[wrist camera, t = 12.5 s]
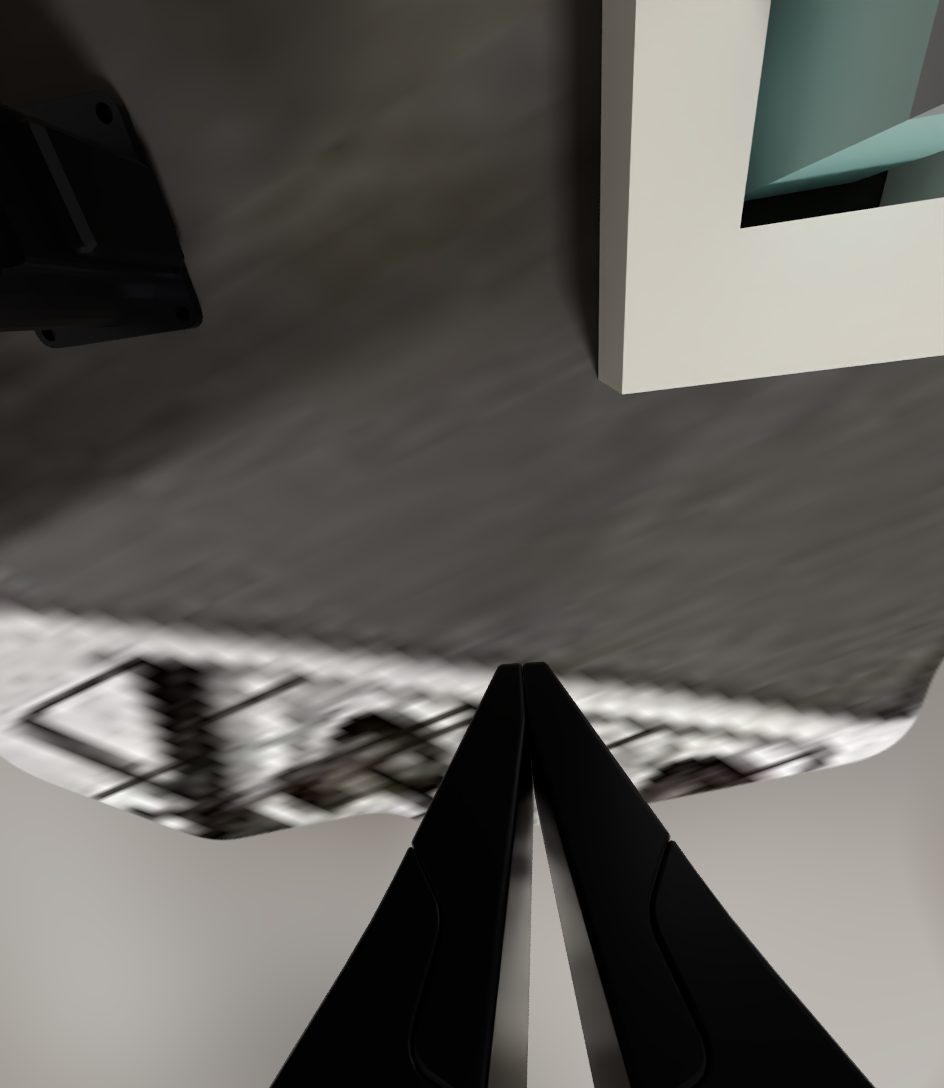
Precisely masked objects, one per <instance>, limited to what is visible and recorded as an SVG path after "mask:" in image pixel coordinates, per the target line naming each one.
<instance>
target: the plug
mask: <svg viewBox="0 0 944 1088" xmlns="http://www.w3.org/2000/svg"><path fill="white" fill-rule="evenodd" d="M943 150H944V0H771V5H770V12H769V20H768V27H767V34H766V42H765V49H764V56H763V64H762V71H761V78H760V86H759V93H758V100H757V108H756V115H755V122H754V130H753V137H752V144H751V152H750V159H749V166H748V174H747V181H746V188H745V196H744V201H747V200H753V199H759V198H765V197H771V196H776V195H782V194H788V193H794V192H800V191H806V190H812V189H818V188H823V187H829V186H835V185H841V184H847V183H853V182H856V181H859V180H861V179H864V178H867V177H870V176H873V175H876V174H878V173H881V172H884V171H887V170H890V169H892V168H895V167H898V166H901V165H904V164H907V163H909V162H912V161H915V160H918V159H921V158H923V157H926V156H929V155H932V154H935V153H938V152H940V151H943Z"/></svg>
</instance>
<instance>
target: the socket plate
mask: <svg viewBox="0 0 944 1088" xmlns="http://www.w3.org/2000/svg"><path fill="white" fill-rule="evenodd" d="M770 5H771V0H602V85H601V176H600V266H599V357H598V379H599V380H600V381H602V382H603V383H605V384H606V385H608V386H610V387H611V388H613V389H614V390H616V391H617V392H619V393H621V394H629V393H638V392H646V391H654V390H662V389H670V388H678V387H687V386H695V385H703V384H711V383H719V382H727V381H736V380H744V379H752V378H760V377H768V376H777V375H785V374H793V373H801V372H809V371H817V370H826V369H834V368H842V367H850V366H858V365H867V364H875V363H883V362H891V361H899V360H907V359H916V358H924V357H932V356H940V355H944V150H943V151H940V152H938V153H935V154H932V155H929V156H926V157H923V158H921V159H918V160H915V161H912V162H909V163H907V164H904V165H901V166H898V167H895V168H892V169H890V170H888V174H887V178H886V181H885V185H884V189H883V193H882V197H881V201H880V205H879V207H878V208H871V209H865V210H858V211H852V212H845V213H839V214H832V215H826V216H819V217H813V218H806V219H800V220H793V221H787V222H780V223H774V224H767V225H761V226H754V227H748V228H741V229H740V225H741V218H742V210H743V203H744V196H745V188H746V181H747V174H748V166H749V159H750V152H751V144H752V137H753V130H754V122H755V115H756V108H757V100H758V93H759V86H760V78H761V71H762V64H763V56H764V49H765V42H766V34H767V27H768V20H769V12H770Z"/></svg>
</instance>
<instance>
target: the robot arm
mask: <svg viewBox="0 0 944 1088" xmlns="http://www.w3.org/2000/svg"><path fill="white" fill-rule="evenodd" d="M108 108H110V110H111V111H112V115H113V119H112V122H111V123H110V124H109V123H108V121H107V119H106V110H107V109H108ZM183 262H184V254H183V252H182V249H181V246H180V244H179V241H178V238H177V235H176V233H175V230H174V227H173V225H172V222H171V219H170V216H169V214H168V211H167V208H166V206H165V203H164V200H163V198H162V195H161V192H160V189H159V187H158V184H157V181H156V179H155V176H154V173H153V172H152V170H151V169H149V168H148V166H147V164H146V161H145V158H144V156H143V153H142V150H141V148H140V145H139V142H138V140H137V137H136V134H135V132H134V129H133V126H132V123H131V121H130V118H129V115H128V114H127V112H126V110H125V108H124V107H123V105H122V104H121V103H120V102H119V101H117V100H116V99H114V98H112V97H110V96H109V95H107V94H105V93H103V92H100V91H94V92H89V93H84V94H80V95H75V96H70V97H65V98H61V99H56V100H51V101H46V102H42V103H37V104H32V105H27V106H23V107H18V108H13V109H12V108H10V107H7V106H5V105H3V104H0V332H5V331H28V330H34V331H35V333H36V335H37V336H38V338H39V339H40V341H41V342H43V343H44V344H45V345H46V346H49V347H51V348H64V347H71V346H78V345H85V344H91V343H98V342H105V341H111V340H118V339H125V338H131V337H138V336H145V335H151V334H158V333H165V332H171V331H178V330H185V329H191V328H196V327H198V326H200V324H201V323H202V319H203V316H202V311H201V308H200V306H199V303H198V300H197V298H196V295H195V292H194V290H193V287H192V284H191V282H190V279H189V276H188V274H187V271H186V268H185V266H184V263H183ZM183 307H185V308H187V310H188V311H189V315H190V317H189V320H187V319H186V318H185V317H184V315H183V312H182V309H183ZM51 330H53V331H54V332H55V335H56V338H54V336H53V335H52V333H51ZM523 677H524V679H523ZM529 743H530V745H529ZM530 754H531V756H530ZM531 764H532V767H531ZM532 775H533V778H532ZM533 784H534V792H535V799H536V804H537V810H538V815H539V820H540V825H541V829H542V834H543V839H544V844H545V849H546V854H547V859H548V864H549V868H550V873H551V878H552V883H553V888H554V893H555V897H556V902H557V907H558V912H559V917H560V922H561V927H562V932H563V936H564V942H565V946H566V951H567V956H568V961H569V966H570V971H571V976H572V980H573V985H574V990H575V995H576V1000H577V1005H578V1010H579V1015H580V1020H581V1025H582V1029H583V1034H584V1039H585V1044H586V1049H587V1054H588V1058H589V1063H590V1068H591V1073H592V1078H593V1083H594V1088H875V1087H874V1086H873V1085H872V1083H871V1082H870V1081H869V1080H868V1079H867V1077H866V1076H865V1075H864V1074H863V1073H862V1072H861V1070H860V1069H859V1068H858V1067H857V1066H856V1065H855V1063H854V1062H853V1061H852V1060H851V1059H850V1058H849V1056H848V1055H847V1054H846V1053H845V1052H844V1051H843V1049H842V1048H841V1047H840V1046H839V1045H838V1044H837V1043H836V1041H835V1040H834V1039H833V1038H832V1037H831V1035H830V1034H829V1033H828V1032H827V1031H826V1030H825V1028H824V1027H823V1026H822V1025H821V1024H820V1023H819V1021H818V1020H817V1019H816V1018H815V1017H814V1016H813V1014H812V1013H811V1012H810V1011H809V1010H808V1009H807V1007H806V1006H805V1005H804V1004H803V1003H802V1001H801V1000H800V999H799V998H798V997H797V996H796V994H795V993H794V992H793V991H792V990H791V989H790V987H789V986H788V985H787V984H786V983H785V982H784V980H783V979H782V978H781V977H780V976H779V975H778V974H777V972H776V971H775V970H774V969H773V967H772V966H771V965H770V964H769V963H768V961H767V960H766V959H765V958H764V957H763V955H762V954H761V953H760V952H759V950H758V949H757V948H756V947H755V946H754V944H753V943H752V942H751V941H750V940H749V938H748V937H747V936H746V935H745V933H744V932H743V931H742V930H741V929H740V927H739V926H738V925H737V924H736V923H735V921H734V920H733V919H732V918H731V916H730V915H729V914H728V912H727V911H726V910H725V909H724V907H723V906H722V905H721V903H720V902H719V901H718V899H717V898H716V897H715V895H714V894H713V893H712V891H711V890H710V889H709V887H708V886H707V885H706V883H705V882H704V881H703V879H702V878H701V877H700V875H699V874H698V873H697V871H696V870H695V869H694V868H693V866H692V865H691V863H690V862H689V861H688V859H687V858H686V856H685V855H684V853H683V852H682V851H681V849H680V848H679V846H678V845H677V844H676V842H675V841H672V840H671V841H670V835H669V833H668V832H667V830H666V829H665V828H664V826H663V825H662V823H661V822H660V820H659V819H658V818H657V816H656V815H655V814H654V812H653V811H652V809H651V808H650V806H649V805H648V804H647V802H646V801H645V799H644V798H643V797H642V795H641V794H640V793H639V791H638V790H637V788H636V787H635V786H634V784H633V783H632V781H631V780H630V779H629V777H628V776H627V774H626V773H625V772H624V770H623V769H622V767H621V766H620V765H619V763H618V762H617V760H616V759H615V758H614V756H613V755H612V754H611V752H610V751H609V749H608V748H607V747H606V745H605V744H604V742H603V741H602V740H601V738H600V737H599V735H598V734H597V733H596V731H595V730H594V728H593V727H592V726H591V724H590V723H589V721H588V720H587V719H586V717H585V716H584V714H583V713H582V712H581V710H580V709H579V708H578V706H577V705H576V703H575V702H574V701H573V699H572V698H571V696H570V695H569V694H568V692H567V691H566V689H565V688H564V687H563V685H562V684H561V682H560V681H559V680H558V678H557V677H556V675H555V674H554V673H553V671H552V670H551V669H550V667H549V666H548V665H547V664H546V663H545V662H530V663H525V664H524V665H523V668H522V665H521V664H519V663H514V664H501V665H500V666H498V668H497V670H496V672H495V674H494V676H493V678H492V680H491V682H490V684H489V686H488V688H487V690H486V692H485V694H484V696H483V698H482V700H481V702H480V704H479V706H478V708H477V710H476V712H475V714H474V716H473V718H472V720H471V722H470V724H469V726H468V729H467V731H466V733H465V735H464V737H463V739H462V741H461V743H460V745H459V747H458V749H457V751H456V753H455V755H454V757H453V759H452V761H451V763H450V765H449V767H448V769H447V771H446V773H445V775H444V777H443V779H442V781H441V783H440V785H439V787H438V789H437V791H436V793H435V795H434V797H433V799H432V802H431V804H430V806H429V808H428V810H427V812H426V814H425V816H424V818H423V820H422V822H421V824H420V826H419V828H418V830H417V832H416V834H415V836H414V838H413V840H412V847H413V848H412V847H409V848H408V850H407V852H406V854H405V856H404V858H403V860H402V862H401V864H400V866H399V868H398V870H397V872H396V874H395V876H394V878H393V880H392V882H391V884H390V886H389V887H388V889H387V891H386V893H385V895H384V897H383V899H382V901H381V903H380V905H379V907H378V908H377V910H376V912H375V914H374V916H373V918H372V920H371V922H370V923H369V925H368V927H367V928H366V930H365V932H364V933H363V935H362V937H361V938H360V940H359V942H358V944H357V945H356V947H355V949H354V951H353V952H352V954H351V955H350V957H349V959H348V961H347V962H346V964H345V966H344V967H343V969H342V971H341V972H340V974H339V976H338V977H337V979H336V980H335V982H334V984H333V985H332V987H331V989H330V990H329V992H328V993H327V995H326V997H325V998H324V1000H323V1002H322V1003H321V1005H320V1006H319V1008H318V1010H317V1011H316V1013H315V1015H314V1016H313V1018H312V1019H311V1021H310V1023H309V1024H308V1026H307V1028H306V1029H305V1031H304V1032H303V1034H302V1036H301V1037H300V1039H299V1040H298V1042H297V1044H296V1045H295V1047H294V1048H293V1050H292V1052H291V1053H290V1055H289V1057H288V1058H287V1060H286V1061H285V1063H284V1065H283V1066H282V1068H281V1070H280V1071H279V1073H278V1074H277V1076H276V1078H275V1079H274V1081H273V1083H272V1084H271V1086H270V1087H269V1088H527V1056H528V1053H527V1052H528V1016H529V1014H528V1013H529V975H530V972H529V971H530V934H531V933H530V932H531V894H532V893H531V892H532V853H533V849H532V848H533V812H534V794H533Z"/></svg>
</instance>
